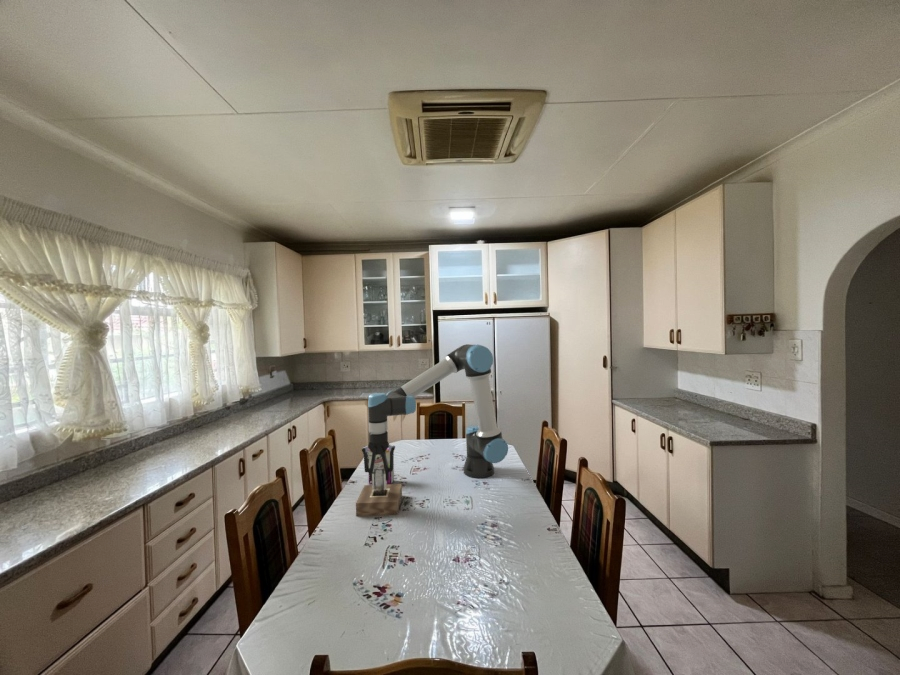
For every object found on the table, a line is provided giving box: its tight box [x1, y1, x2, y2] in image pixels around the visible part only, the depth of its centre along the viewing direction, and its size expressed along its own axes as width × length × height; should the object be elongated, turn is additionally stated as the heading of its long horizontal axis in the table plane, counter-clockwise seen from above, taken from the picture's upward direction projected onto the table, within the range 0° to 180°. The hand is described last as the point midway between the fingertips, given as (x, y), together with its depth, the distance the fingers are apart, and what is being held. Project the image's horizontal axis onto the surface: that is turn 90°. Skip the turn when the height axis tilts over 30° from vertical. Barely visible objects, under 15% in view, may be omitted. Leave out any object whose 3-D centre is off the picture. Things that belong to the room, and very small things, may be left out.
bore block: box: [355, 483, 403, 517], centre depth 145 cm, size 16×16×5 cm
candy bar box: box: [368, 448, 395, 485], centre depth 167 cm, size 11×5×16 cm, turn 84°
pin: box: [374, 467, 385, 496], centre depth 145 cm, size 4×4×12 cm
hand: (379, 488), depth 145 cm, fingers closed on pin, 4 cm apart
